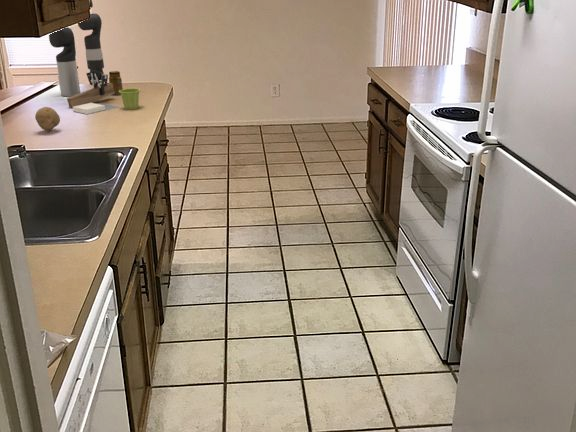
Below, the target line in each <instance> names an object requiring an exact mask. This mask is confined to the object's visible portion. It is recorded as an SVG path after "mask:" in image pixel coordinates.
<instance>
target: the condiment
mask: <svg viewBox="0 0 576 432" xmlns="http://www.w3.org/2000/svg"><path fill="white" fill-rule="evenodd" d="M108 81H109V82H108V83H112V84H113V88H114V92H115V93H114V94H112V95H111V96H121V94H120V92H119V91H120V90H123V89H124V88H123V83H122V82H123V81H122V77H121V72H120V71H118V70H114V71H113V70H112V71H109V73H108Z"/></svg>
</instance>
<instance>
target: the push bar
mask: <svg viewBox="0 0 576 432" xmlns="http://www.w3.org/2000/svg"><path fill="white" fill-rule="evenodd" d="M104 91H105V95H102V96H101V95H100V90H99V85H98V87H95V88H94V87H93V88H90V89H88V90H85V91H82V92H80V94H77V95H74V96H68V97H67V98H66V100H67V103H68V108H71V109H73V107H74V106H79V105H83V104H88V103H95V102H97V101H99V100H102V99H104V98H107V97H109V96H113V95H112V94H114V93H115V92H114V88H113V84H112V83H109V82H107V86H105V87H104Z"/></svg>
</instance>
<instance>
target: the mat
mask: <svg viewBox="0 0 576 432" xmlns="http://www.w3.org/2000/svg"><path fill="white" fill-rule="evenodd" d="M99 104H100V105H105V110H102V111H98V112H94V113H91V114H97V113H102V112H105V111H111V110H115V109H119V108H120V106H116V105H111V104H106V103H102V102H101V103H99Z"/></svg>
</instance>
